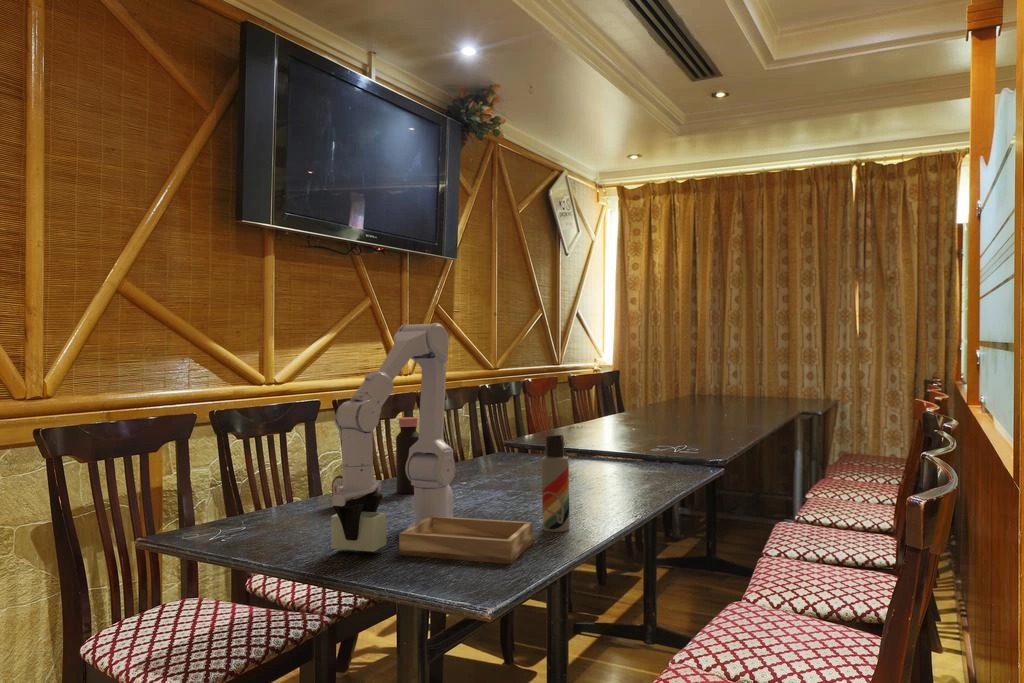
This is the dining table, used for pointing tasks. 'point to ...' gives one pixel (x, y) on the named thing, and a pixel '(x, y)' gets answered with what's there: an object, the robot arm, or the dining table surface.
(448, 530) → the pine crate
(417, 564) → the dining table surface
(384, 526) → the small crate
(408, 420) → the vinegar
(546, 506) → the lotion bottle
